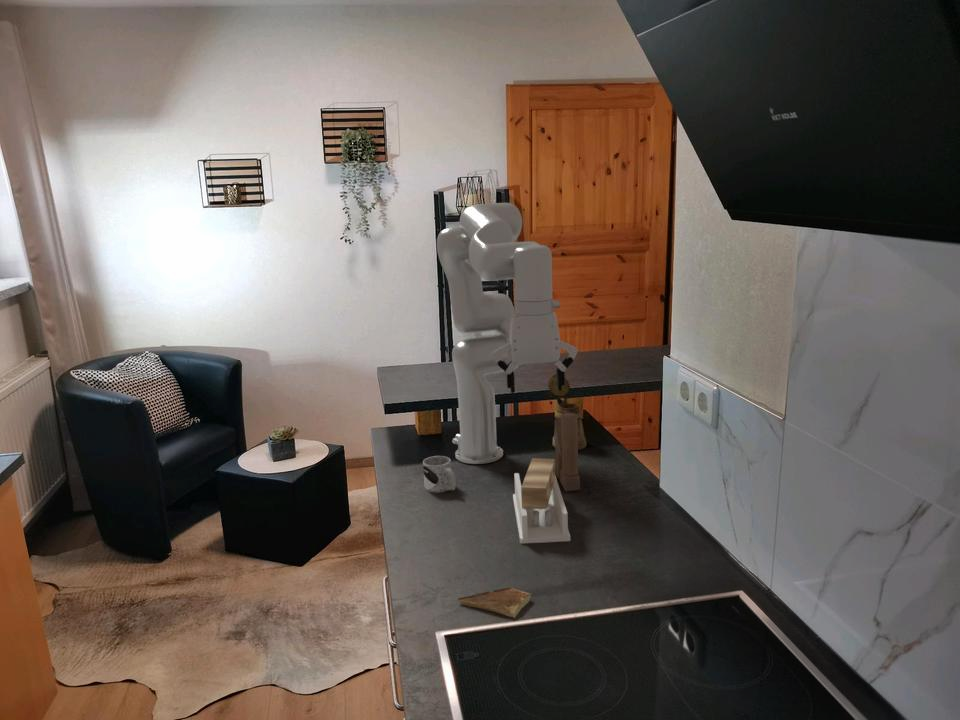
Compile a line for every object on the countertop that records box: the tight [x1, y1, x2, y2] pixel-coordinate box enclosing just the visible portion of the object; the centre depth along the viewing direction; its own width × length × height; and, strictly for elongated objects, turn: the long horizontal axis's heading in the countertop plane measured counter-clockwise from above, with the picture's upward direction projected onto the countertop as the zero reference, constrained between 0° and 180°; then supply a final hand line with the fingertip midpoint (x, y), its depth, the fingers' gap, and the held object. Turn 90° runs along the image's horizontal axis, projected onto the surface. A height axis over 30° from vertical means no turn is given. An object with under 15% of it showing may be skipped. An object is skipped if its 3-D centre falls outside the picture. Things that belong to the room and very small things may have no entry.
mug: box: [422, 455, 457, 494], centre depth 176 cm, size 10×7×7 cm, turn 39°
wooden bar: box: [521, 457, 556, 509], centre depth 157 cm, size 16×5×4 cm, turn 168°
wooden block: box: [554, 413, 581, 492], centre depth 175 cm, size 4×11×18 cm, turn 6°
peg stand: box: [512, 472, 571, 544], centre depth 159 cm, size 22×10×6 cm, turn 2°
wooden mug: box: [548, 373, 587, 451], centre depth 202 cm, size 9×14×18 cm, turn 16°
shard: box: [457, 587, 531, 619], centre depth 129 cm, size 11×8×2 cm
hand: (535, 390), depth 153 cm, fingers open, 9 cm apart
